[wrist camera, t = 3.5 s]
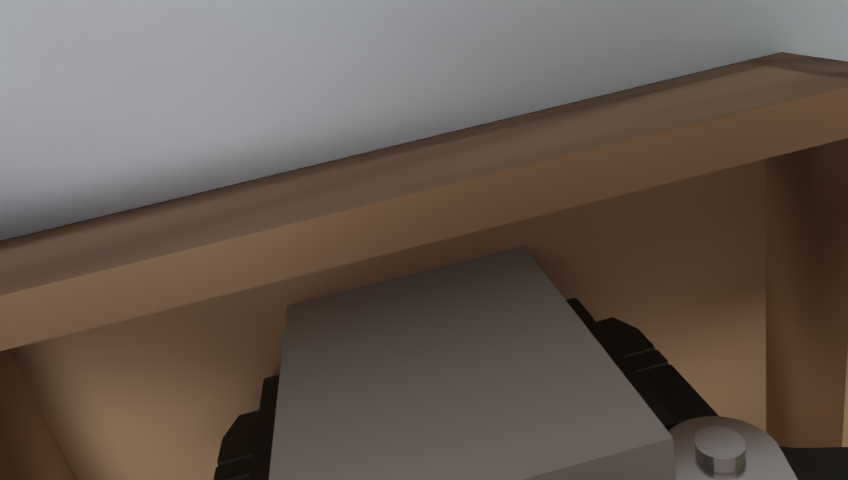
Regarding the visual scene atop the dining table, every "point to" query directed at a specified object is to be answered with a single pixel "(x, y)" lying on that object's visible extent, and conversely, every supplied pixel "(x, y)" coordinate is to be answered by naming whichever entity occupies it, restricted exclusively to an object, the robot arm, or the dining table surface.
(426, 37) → the dining table surface
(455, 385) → the grey brown block
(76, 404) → the walnut tray
